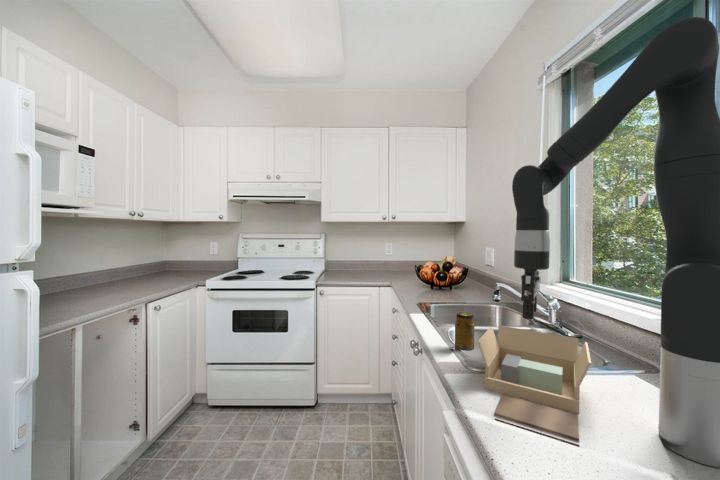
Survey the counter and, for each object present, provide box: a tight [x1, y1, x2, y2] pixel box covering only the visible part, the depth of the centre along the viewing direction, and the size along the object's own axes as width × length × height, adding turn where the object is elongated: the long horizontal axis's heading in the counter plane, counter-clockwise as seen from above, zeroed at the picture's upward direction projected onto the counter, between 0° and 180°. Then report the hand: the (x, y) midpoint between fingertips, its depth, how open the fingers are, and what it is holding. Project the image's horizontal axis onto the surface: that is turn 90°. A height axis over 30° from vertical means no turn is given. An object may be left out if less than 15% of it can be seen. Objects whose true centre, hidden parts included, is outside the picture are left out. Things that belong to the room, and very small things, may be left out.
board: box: [494, 393, 580, 448], centre depth 63 cm, size 14×9×2 cm, turn 56°
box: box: [501, 354, 563, 395], centre depth 76 cm, size 12×8×5 cm, turn 56°
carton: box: [477, 325, 592, 415], centre depth 76 cm, size 22×18×12 cm
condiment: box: [448, 311, 475, 352], centre depth 100 cm, size 7×8×12 cm
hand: (529, 314), depth 76 cm, fingers open, 8 cm apart
